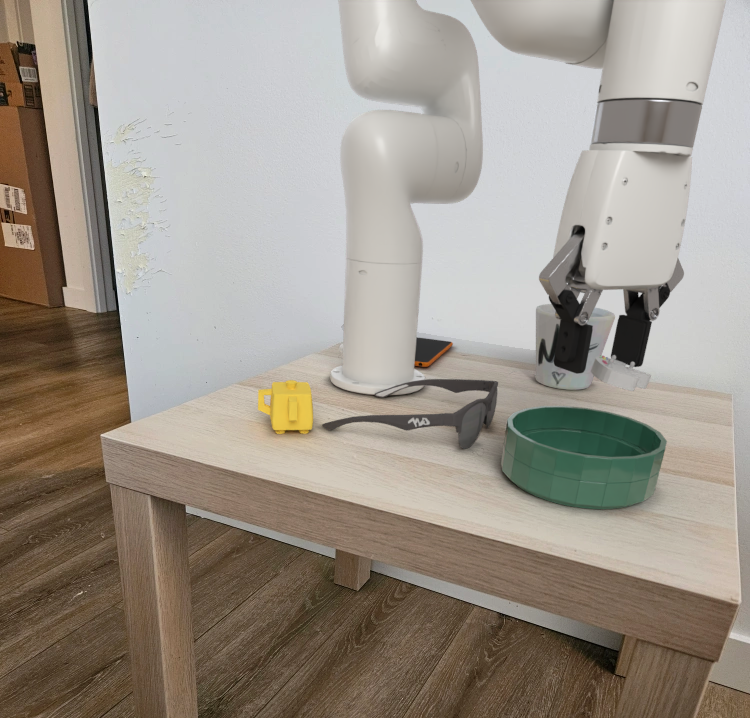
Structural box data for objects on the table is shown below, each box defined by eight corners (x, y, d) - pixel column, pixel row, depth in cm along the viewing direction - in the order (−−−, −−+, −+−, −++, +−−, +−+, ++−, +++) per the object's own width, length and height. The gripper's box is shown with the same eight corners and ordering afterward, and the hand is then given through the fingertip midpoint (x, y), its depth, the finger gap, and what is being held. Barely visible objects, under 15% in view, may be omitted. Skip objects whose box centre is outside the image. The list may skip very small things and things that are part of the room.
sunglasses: (467, 462, 66) (467, 413, 64) (317, 447, 72) (313, 402, 71) (509, 416, 79) (510, 374, 77) (380, 407, 86) (378, 368, 84)
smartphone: (453, 346, 112) (453, 340, 112) (428, 369, 98) (428, 363, 97) (409, 340, 114) (410, 335, 114) (378, 362, 100) (379, 356, 99)
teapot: (258, 415, 76) (256, 370, 73) (309, 415, 77) (310, 370, 74) (258, 441, 69) (257, 391, 66) (315, 440, 69) (316, 391, 67)
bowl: (471, 463, 66) (477, 414, 64) (576, 444, 72) (585, 399, 70) (572, 525, 55) (584, 468, 53) (686, 496, 61) (700, 445, 59)
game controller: (661, 394, 57) (669, 364, 56) (536, 398, 54) (541, 366, 53) (624, 376, 62) (630, 347, 60) (507, 378, 59) (511, 348, 58)
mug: (518, 385, 92) (529, 311, 88) (537, 363, 105) (548, 296, 101) (596, 397, 89) (612, 321, 85) (607, 372, 101) (621, 304, 97)
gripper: (677, 142, 58) (633, 350, 66) (522, 125, 50) (492, 363, 58) (758, 140, 52) (699, 369, 60) (597, 121, 44) (552, 387, 52)
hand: (598, 364), depth 59 cm, fingers closed on game controller, 6 cm apart
